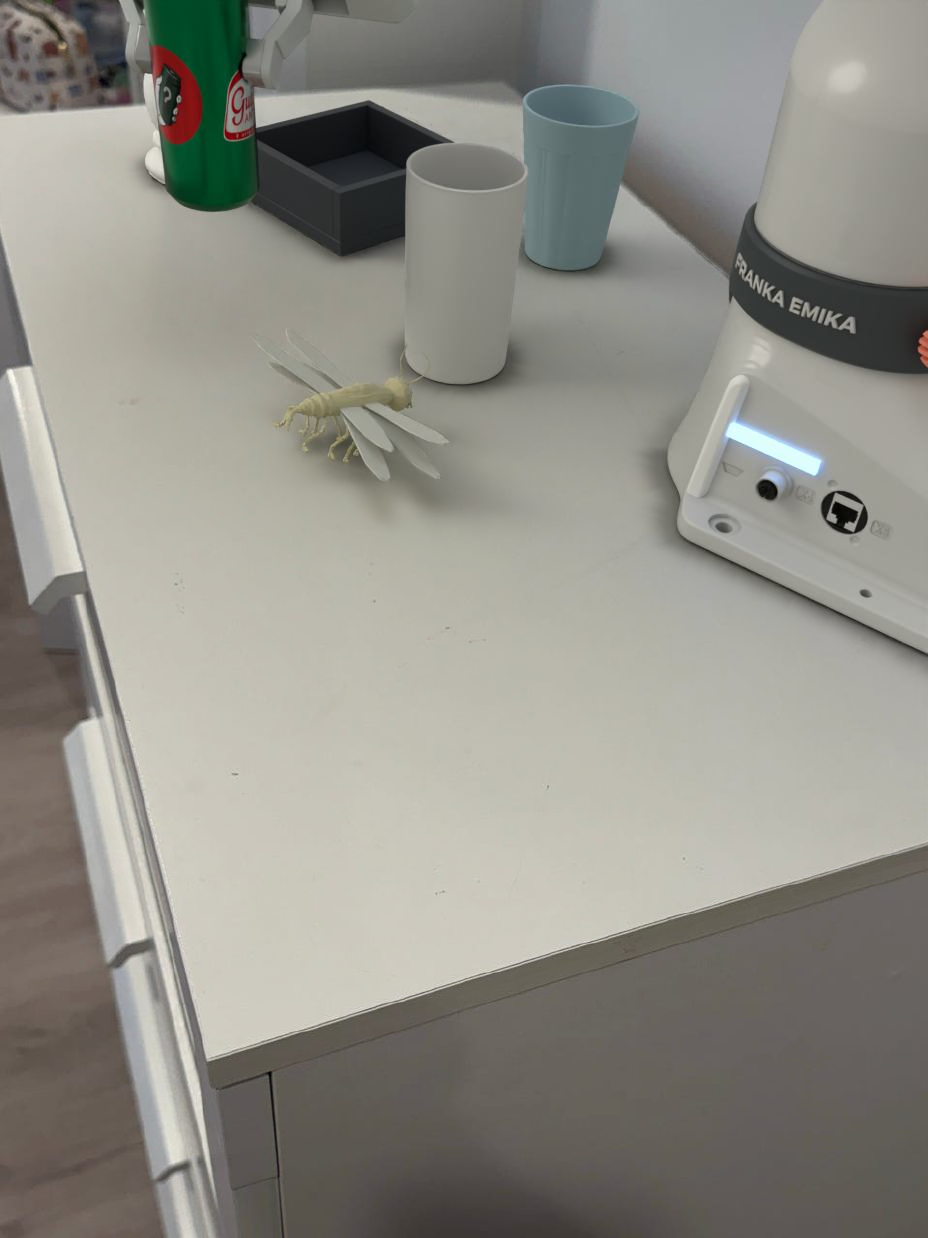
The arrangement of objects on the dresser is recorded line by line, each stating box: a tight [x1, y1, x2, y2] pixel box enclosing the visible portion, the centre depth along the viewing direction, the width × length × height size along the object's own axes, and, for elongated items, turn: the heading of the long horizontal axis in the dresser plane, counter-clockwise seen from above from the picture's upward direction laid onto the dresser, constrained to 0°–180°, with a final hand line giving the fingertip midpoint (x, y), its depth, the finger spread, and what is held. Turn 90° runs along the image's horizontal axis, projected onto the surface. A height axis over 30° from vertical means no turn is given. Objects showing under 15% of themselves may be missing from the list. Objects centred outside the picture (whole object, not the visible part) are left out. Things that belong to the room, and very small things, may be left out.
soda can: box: [143, 0, 260, 213], centre depth 61 cm, size 5×5×12 cm
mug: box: [404, 142, 528, 385], centre depth 70 cm, size 10×7×12 cm, turn 5°
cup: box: [522, 84, 640, 271], centre depth 81 cm, size 8×8×10 cm
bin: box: [250, 99, 456, 257], centre depth 87 cm, size 13×13×4 cm
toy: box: [252, 328, 451, 483], centre depth 63 cm, size 15×9×5 cm, turn 39°
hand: (202, 75), depth 60 cm, fingers closed on soda can, 5 cm apart
